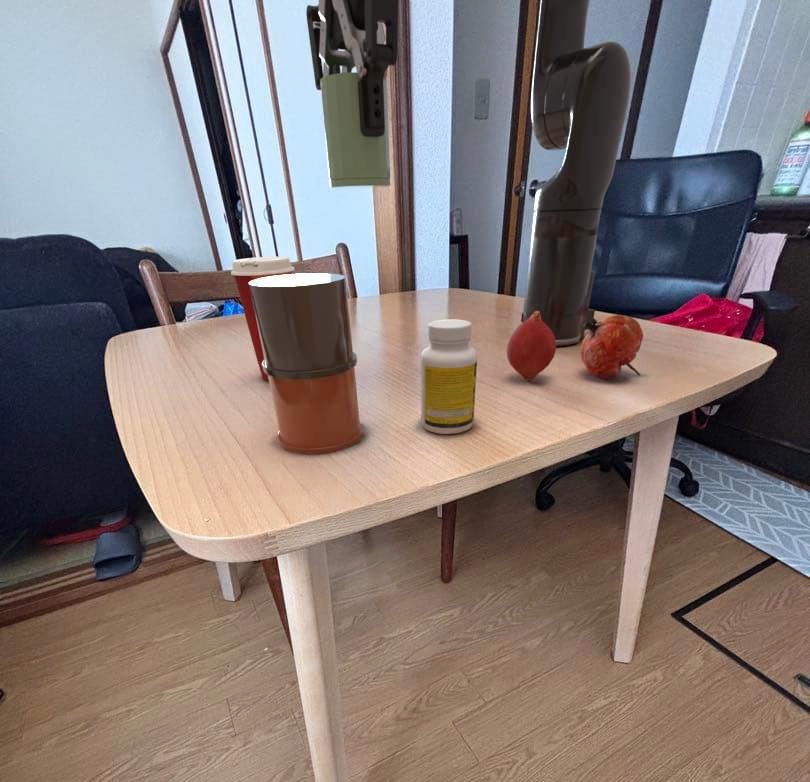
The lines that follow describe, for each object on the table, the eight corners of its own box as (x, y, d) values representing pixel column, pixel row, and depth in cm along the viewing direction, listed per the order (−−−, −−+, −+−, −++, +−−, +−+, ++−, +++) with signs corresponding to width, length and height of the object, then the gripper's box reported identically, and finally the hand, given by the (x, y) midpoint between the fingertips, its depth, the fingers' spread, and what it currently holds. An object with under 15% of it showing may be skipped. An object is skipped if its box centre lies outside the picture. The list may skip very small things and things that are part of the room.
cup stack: (341, 414, 52) (324, 270, 44) (378, 440, 46) (367, 278, 38) (267, 432, 49) (233, 280, 40) (296, 462, 42) (263, 290, 34)
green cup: (373, 188, 52) (367, 89, 47) (401, 185, 47) (398, 76, 43) (321, 188, 49) (310, 84, 45) (345, 185, 45) (336, 69, 40)
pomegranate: (615, 383, 64) (562, 335, 62) (664, 340, 59) (608, 287, 57) (618, 407, 59) (560, 356, 57) (671, 363, 54) (610, 306, 52)
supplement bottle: (482, 431, 47) (489, 326, 41) (431, 439, 46) (431, 332, 40) (461, 412, 51) (465, 315, 45) (414, 419, 50) (412, 320, 44)
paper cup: (298, 385, 61) (276, 261, 53) (244, 383, 63) (216, 263, 54) (318, 367, 67) (302, 255, 59) (269, 366, 69) (247, 256, 61)
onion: (495, 381, 60) (501, 312, 55) (519, 370, 63) (526, 305, 58) (536, 389, 56) (545, 317, 52) (559, 378, 60) (570, 309, 55)
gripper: (429, -179, 33) (428, 133, 43) (344, -85, 43) (359, 149, 53) (331, -216, 30) (354, 129, 40) (265, -105, 40) (296, 148, 50)
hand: (357, 140), depth 46 cm, fingers closed on green cup, 6 cm apart
